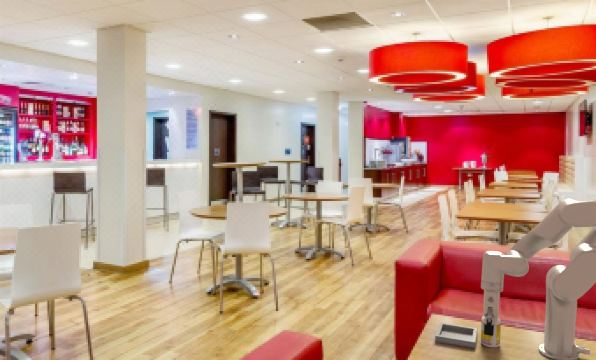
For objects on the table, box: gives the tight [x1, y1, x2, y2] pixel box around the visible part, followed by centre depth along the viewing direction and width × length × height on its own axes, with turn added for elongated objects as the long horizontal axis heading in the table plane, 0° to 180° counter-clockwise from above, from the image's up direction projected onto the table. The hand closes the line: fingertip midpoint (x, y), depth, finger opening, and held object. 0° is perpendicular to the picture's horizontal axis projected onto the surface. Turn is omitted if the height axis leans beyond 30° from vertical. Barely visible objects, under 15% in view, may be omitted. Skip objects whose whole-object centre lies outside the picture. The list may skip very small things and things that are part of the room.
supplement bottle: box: [480, 315, 502, 348], centre depth 178 cm, size 7×7×13 cm
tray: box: [434, 322, 478, 350], centre depth 184 cm, size 14×14×2 cm
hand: (488, 330), depth 178 cm, fingers open, 9 cm apart
